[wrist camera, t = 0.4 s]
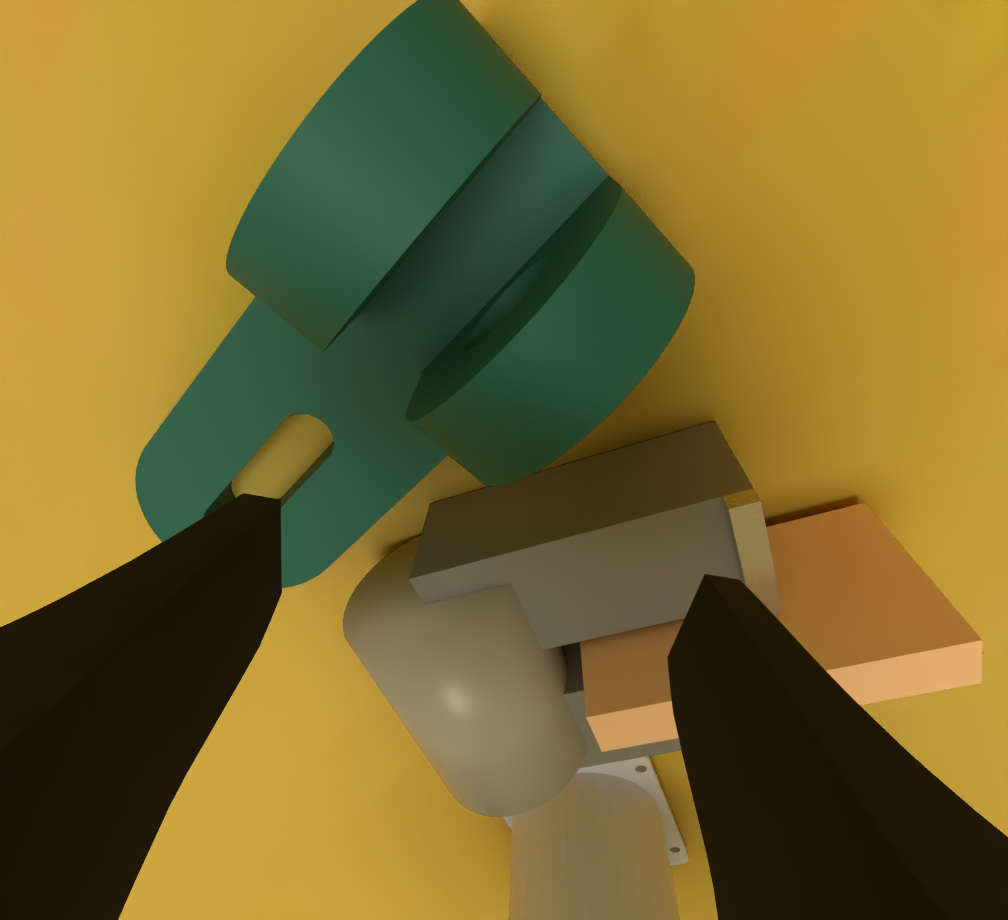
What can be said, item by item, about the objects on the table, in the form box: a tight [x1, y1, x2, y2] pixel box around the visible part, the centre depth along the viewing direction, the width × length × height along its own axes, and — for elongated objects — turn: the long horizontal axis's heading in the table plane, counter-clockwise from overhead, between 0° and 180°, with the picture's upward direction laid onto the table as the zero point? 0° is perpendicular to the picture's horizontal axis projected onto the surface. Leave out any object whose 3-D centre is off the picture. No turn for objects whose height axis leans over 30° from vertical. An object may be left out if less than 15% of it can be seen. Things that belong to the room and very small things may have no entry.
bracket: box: [135, 0, 695, 588], centre depth 16 cm, size 18×7×8 cm, turn 136°
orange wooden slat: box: [580, 502, 982, 752], centre depth 19 cm, size 10×2×6 cm, turn 111°
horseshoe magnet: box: [343, 421, 783, 817], centre depth 20 cm, size 13×10×6 cm
